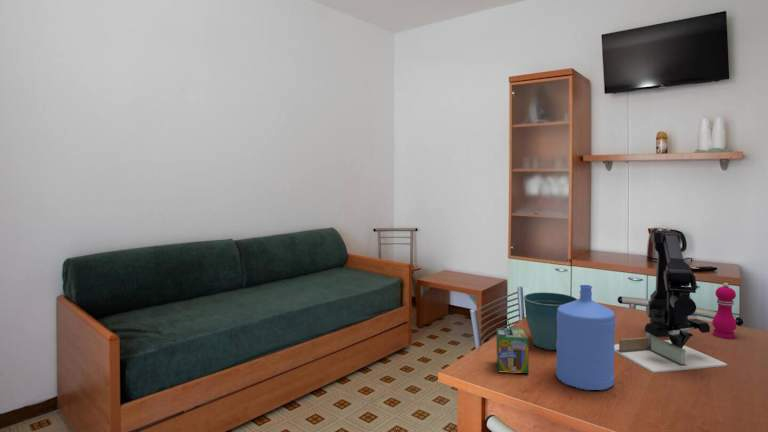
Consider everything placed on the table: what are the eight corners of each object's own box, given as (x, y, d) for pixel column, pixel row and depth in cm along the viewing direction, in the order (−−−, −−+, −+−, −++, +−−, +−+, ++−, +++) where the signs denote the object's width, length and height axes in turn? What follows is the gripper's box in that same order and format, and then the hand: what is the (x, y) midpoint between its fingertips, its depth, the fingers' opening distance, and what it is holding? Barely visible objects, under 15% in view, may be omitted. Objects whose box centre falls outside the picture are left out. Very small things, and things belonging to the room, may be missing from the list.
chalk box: (528, 375, 137) (529, 327, 136) (497, 373, 139) (497, 326, 137) (525, 363, 146) (525, 318, 145) (495, 361, 148) (496, 317, 146)
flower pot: (513, 339, 167) (513, 294, 166) (553, 333, 173) (554, 290, 172) (544, 357, 150) (545, 307, 149) (588, 350, 156) (589, 301, 155)
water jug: (611, 397, 123) (613, 295, 120) (550, 384, 131) (551, 288, 129) (616, 375, 136) (618, 283, 134) (561, 365, 144) (562, 278, 142)
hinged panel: (650, 349, 153) (650, 336, 153) (654, 349, 154) (654, 336, 153) (680, 364, 141) (681, 350, 141) (685, 363, 141) (685, 350, 141)
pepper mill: (731, 333, 170) (733, 281, 169) (739, 340, 163) (741, 285, 162) (708, 331, 172) (710, 280, 171) (715, 338, 166) (718, 284, 164)
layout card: (606, 346, 159) (606, 330, 158) (671, 341, 163) (671, 325, 163) (653, 372, 137) (653, 353, 137) (727, 365, 141) (727, 347, 141)
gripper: (684, 297, 154) (683, 341, 156) (633, 301, 152) (633, 346, 153) (711, 306, 143) (710, 354, 145) (657, 311, 141) (657, 360, 142)
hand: (676, 353), depth 147 cm, fingers closed
